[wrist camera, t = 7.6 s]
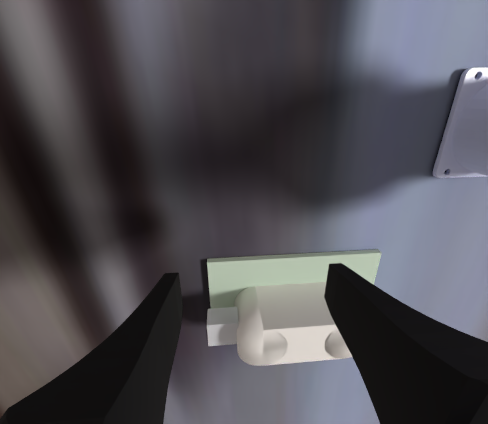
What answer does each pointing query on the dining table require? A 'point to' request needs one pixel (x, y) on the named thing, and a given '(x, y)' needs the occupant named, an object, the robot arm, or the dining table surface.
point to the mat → (281, 271)
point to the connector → (278, 325)
